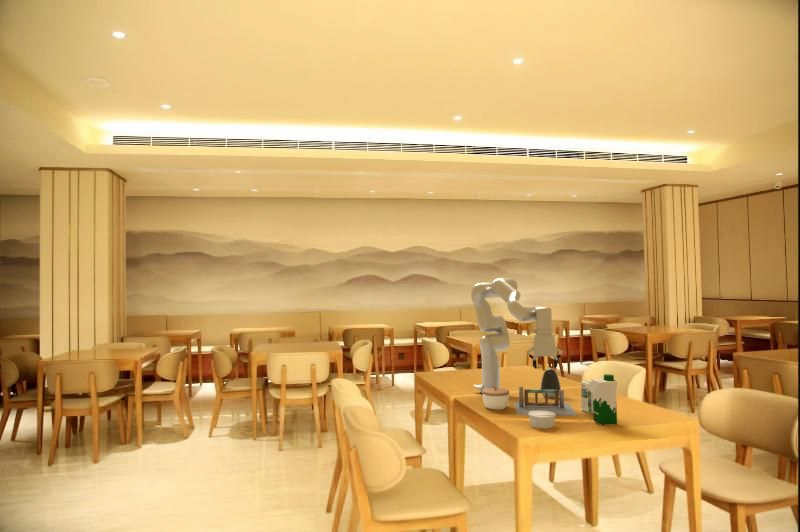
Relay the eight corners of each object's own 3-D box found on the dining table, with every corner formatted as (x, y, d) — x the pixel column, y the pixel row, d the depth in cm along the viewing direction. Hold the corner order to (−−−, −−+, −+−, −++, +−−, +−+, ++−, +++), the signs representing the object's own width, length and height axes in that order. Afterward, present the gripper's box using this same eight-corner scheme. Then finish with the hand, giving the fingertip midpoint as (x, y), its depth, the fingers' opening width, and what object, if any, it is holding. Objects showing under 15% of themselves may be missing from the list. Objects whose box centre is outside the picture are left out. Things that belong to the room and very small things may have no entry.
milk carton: (620, 425, 220) (619, 376, 220) (599, 425, 219) (598, 377, 219) (610, 419, 228) (609, 373, 229) (590, 420, 228) (589, 373, 228)
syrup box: (581, 413, 239) (580, 381, 240) (591, 412, 242) (590, 380, 242) (589, 416, 234) (589, 383, 235) (600, 414, 236) (599, 382, 237)
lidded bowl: (493, 414, 240) (493, 390, 240) (477, 408, 251) (476, 385, 252) (515, 410, 246) (514, 387, 246) (498, 405, 257) (497, 382, 257)
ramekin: (544, 431, 213) (543, 418, 213) (522, 425, 222) (522, 412, 222) (561, 426, 219) (561, 413, 219) (540, 421, 228) (539, 408, 228)
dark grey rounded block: (562, 396, 274) (561, 367, 274) (559, 400, 264) (558, 370, 265) (542, 395, 278) (541, 366, 279) (538, 399, 269) (538, 369, 269)
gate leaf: (524, 405, 248) (524, 390, 248) (524, 405, 250) (524, 389, 250) (558, 406, 246) (558, 390, 246) (558, 405, 247) (558, 389, 248)
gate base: (517, 417, 235) (517, 393, 235) (513, 404, 258) (513, 383, 259) (578, 418, 231) (577, 394, 231) (568, 405, 255) (567, 383, 255)
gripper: (526, 333, 252) (527, 369, 251) (563, 332, 249) (564, 369, 249) (524, 331, 259) (525, 366, 259) (561, 331, 257) (562, 367, 256)
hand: (545, 368), depth 254 cm, fingers open, 8 cm apart
